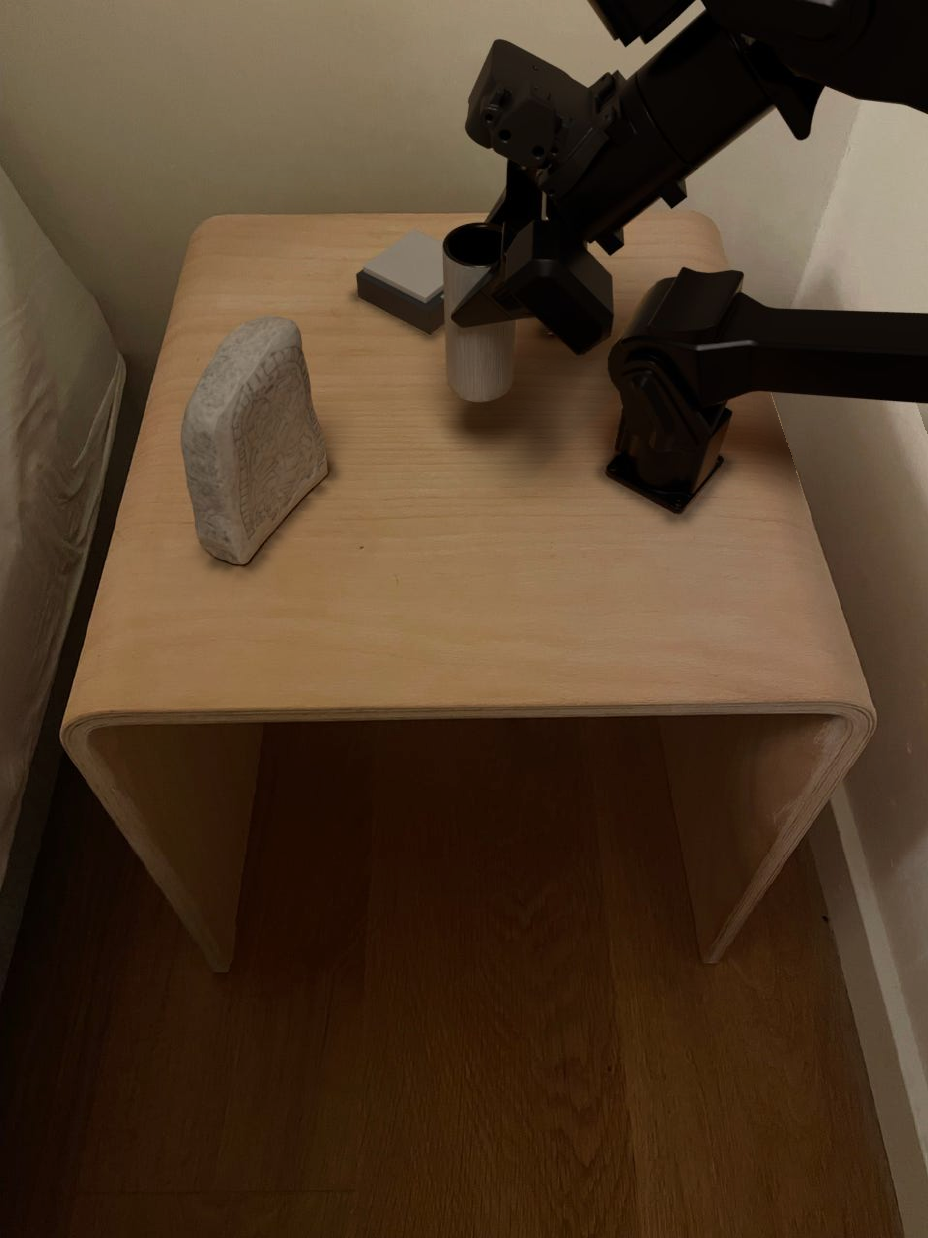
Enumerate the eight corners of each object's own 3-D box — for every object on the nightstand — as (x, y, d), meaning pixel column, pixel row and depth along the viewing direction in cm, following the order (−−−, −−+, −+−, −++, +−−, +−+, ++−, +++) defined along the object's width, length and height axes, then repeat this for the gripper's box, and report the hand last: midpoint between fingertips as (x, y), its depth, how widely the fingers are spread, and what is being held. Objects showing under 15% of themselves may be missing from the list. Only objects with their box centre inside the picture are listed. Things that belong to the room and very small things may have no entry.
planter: (485, 412, 60) (486, 276, 51) (432, 383, 61) (426, 246, 53) (526, 376, 62) (534, 239, 53) (474, 349, 63) (475, 211, 55)
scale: (488, 287, 78) (489, 258, 76) (430, 334, 74) (429, 305, 72) (417, 252, 81) (416, 223, 78) (357, 296, 77) (354, 267, 75)
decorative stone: (256, 581, 60) (204, 414, 48) (183, 548, 62) (115, 378, 49) (342, 474, 66) (315, 299, 53) (273, 447, 67) (232, 270, 55)
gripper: (567, -86, 47) (376, 123, 57) (567, 91, 37) (333, 311, 46) (689, 76, 53) (499, 240, 63) (719, 268, 43) (485, 429, 53)
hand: (458, 296), depth 56 cm, fingers closed on planter, 4 cm apart
